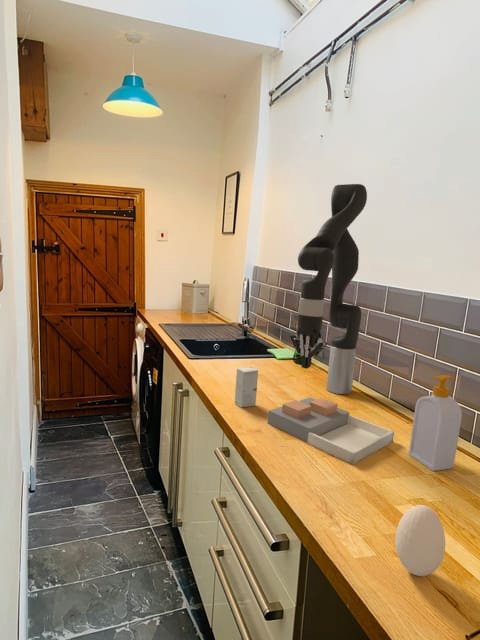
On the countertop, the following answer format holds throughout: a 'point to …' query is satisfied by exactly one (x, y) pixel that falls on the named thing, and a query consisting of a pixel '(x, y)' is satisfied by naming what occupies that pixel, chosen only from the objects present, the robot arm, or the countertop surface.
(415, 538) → the egg
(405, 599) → the countertop surface
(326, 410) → the tile
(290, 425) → the board
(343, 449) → the tray
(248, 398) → the skincare box
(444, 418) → the soap bottle
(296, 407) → the tile
